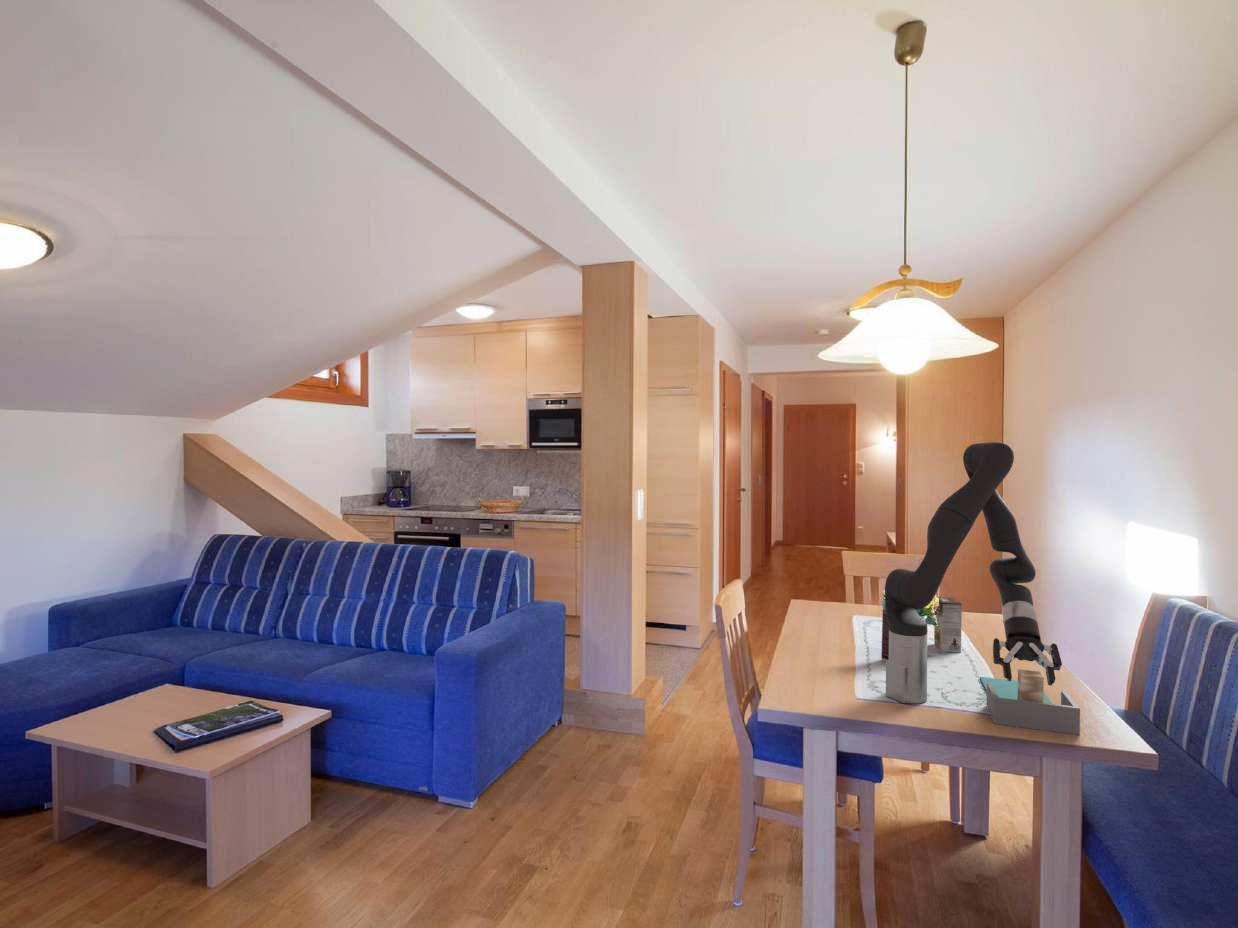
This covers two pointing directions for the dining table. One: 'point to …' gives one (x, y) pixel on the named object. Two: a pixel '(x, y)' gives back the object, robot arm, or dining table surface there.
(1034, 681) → the maple block
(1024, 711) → the low gray barrier wall
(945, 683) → the dining table surface
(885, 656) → the supplement box
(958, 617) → the coffee box
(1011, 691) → the teal mat
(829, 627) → the dining table surface
